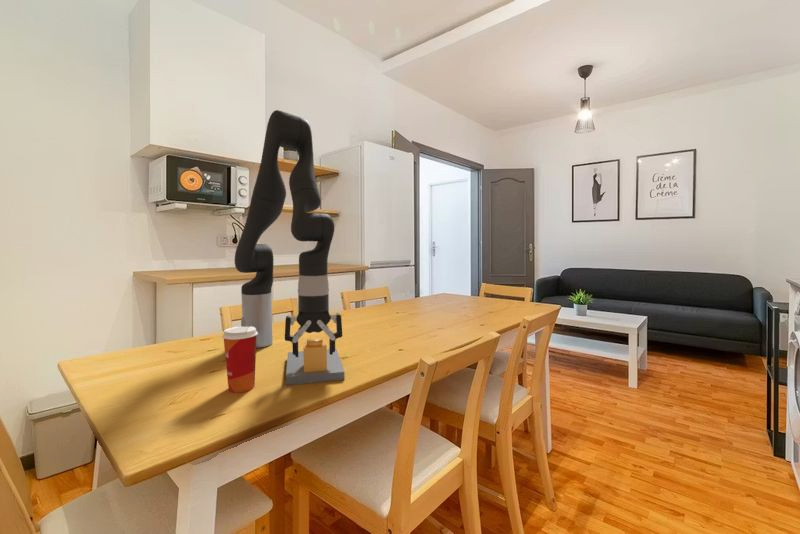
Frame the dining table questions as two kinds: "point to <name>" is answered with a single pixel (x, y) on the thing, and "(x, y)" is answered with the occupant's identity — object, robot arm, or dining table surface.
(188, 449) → the dining table surface
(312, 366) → the orange toy brick
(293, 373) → the board
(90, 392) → the dining table surface
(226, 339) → the paper cup
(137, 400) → the dining table surface
